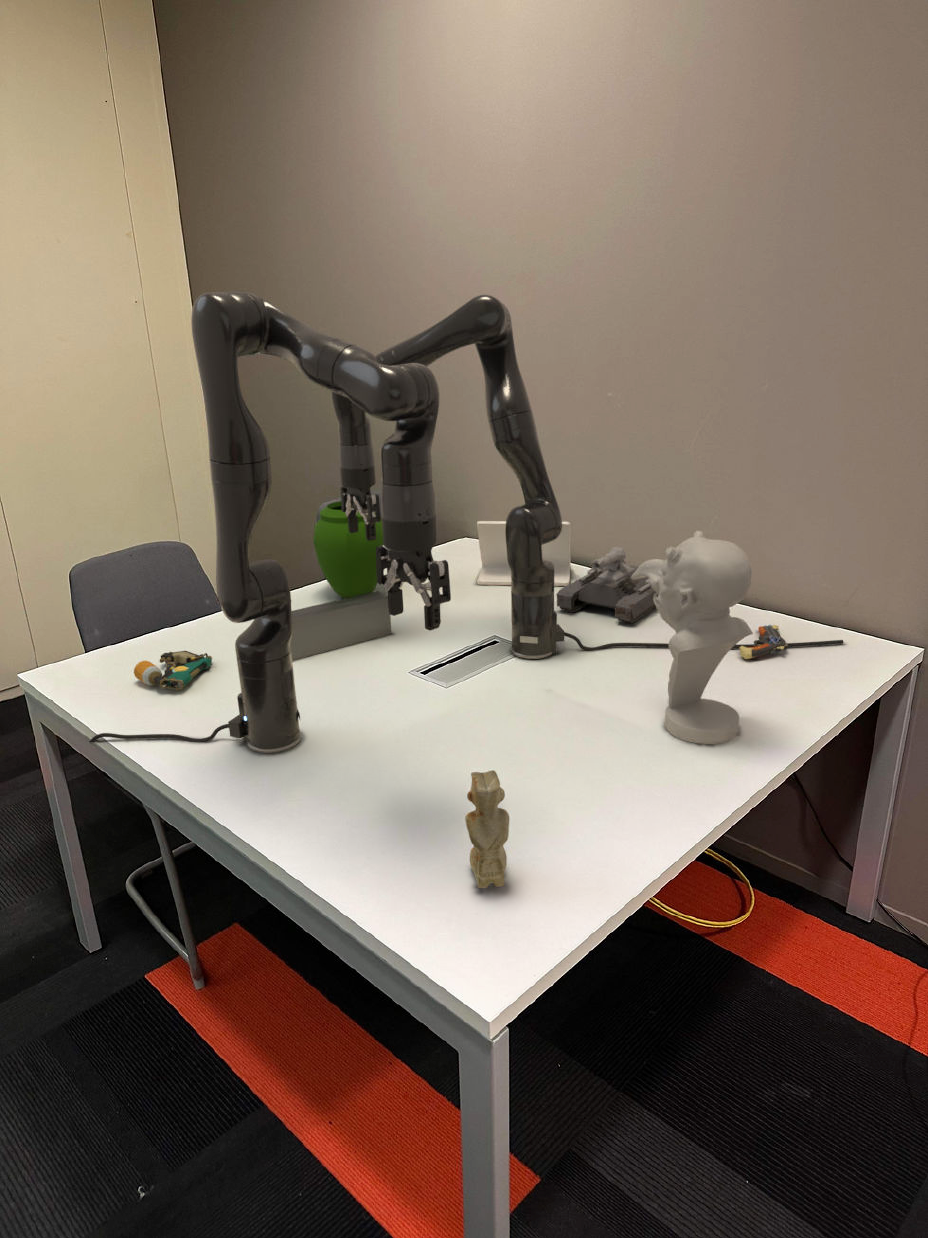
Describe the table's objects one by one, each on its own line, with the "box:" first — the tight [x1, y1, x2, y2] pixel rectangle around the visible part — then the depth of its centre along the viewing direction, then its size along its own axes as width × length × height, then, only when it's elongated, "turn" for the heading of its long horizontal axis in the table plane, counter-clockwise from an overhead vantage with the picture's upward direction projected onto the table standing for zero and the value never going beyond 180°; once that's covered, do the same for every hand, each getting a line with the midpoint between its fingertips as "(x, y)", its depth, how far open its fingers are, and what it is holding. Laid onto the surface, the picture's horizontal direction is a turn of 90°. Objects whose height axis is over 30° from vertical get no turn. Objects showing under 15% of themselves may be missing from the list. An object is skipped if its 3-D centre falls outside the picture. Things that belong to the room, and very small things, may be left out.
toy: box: [556, 546, 656, 624], centre depth 212 cm, size 25×20×15 cm
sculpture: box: [464, 769, 510, 889], centre depth 113 cm, size 6×7×15 cm
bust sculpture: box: [631, 530, 754, 745], centre depth 151 cm, size 16×24×35 cm, turn 28°
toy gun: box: [739, 624, 788, 660], centre depth 187 cm, size 3×19×10 cm
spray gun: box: [133, 650, 213, 690], centre depth 180 cm, size 4×17×15 cm
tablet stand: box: [476, 520, 572, 587], centre depth 236 cm, size 18×25×17 cm
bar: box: [290, 590, 392, 661], centre depth 194 cm, size 26×6×9 cm, turn 124°
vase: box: [312, 500, 384, 599], centre depth 223 cm, size 20×20×24 cm
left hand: (414, 621), depth 125 cm, fingers open, 8 cm apart
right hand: (362, 536), depth 192 cm, fingers open, 8 cm apart
